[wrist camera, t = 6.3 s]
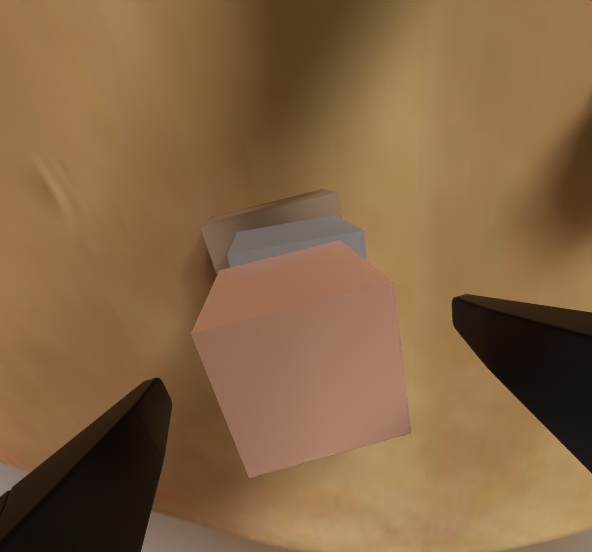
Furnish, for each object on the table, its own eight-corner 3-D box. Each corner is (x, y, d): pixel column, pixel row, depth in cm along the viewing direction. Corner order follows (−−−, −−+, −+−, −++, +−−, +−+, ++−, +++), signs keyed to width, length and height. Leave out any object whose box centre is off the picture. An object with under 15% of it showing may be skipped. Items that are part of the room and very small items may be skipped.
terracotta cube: (340, 240, 10) (393, 281, 6) (358, 343, 12) (411, 433, 8) (219, 270, 10) (190, 333, 6) (253, 371, 12) (249, 478, 8)
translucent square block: (321, 189, 18) (337, 192, 14) (340, 288, 21) (358, 313, 17) (212, 216, 18) (199, 227, 14) (244, 314, 20) (241, 345, 17)
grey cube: (334, 215, 15) (363, 230, 10) (343, 303, 16) (372, 347, 12) (237, 232, 14) (227, 254, 10) (256, 319, 16) (255, 370, 12)
